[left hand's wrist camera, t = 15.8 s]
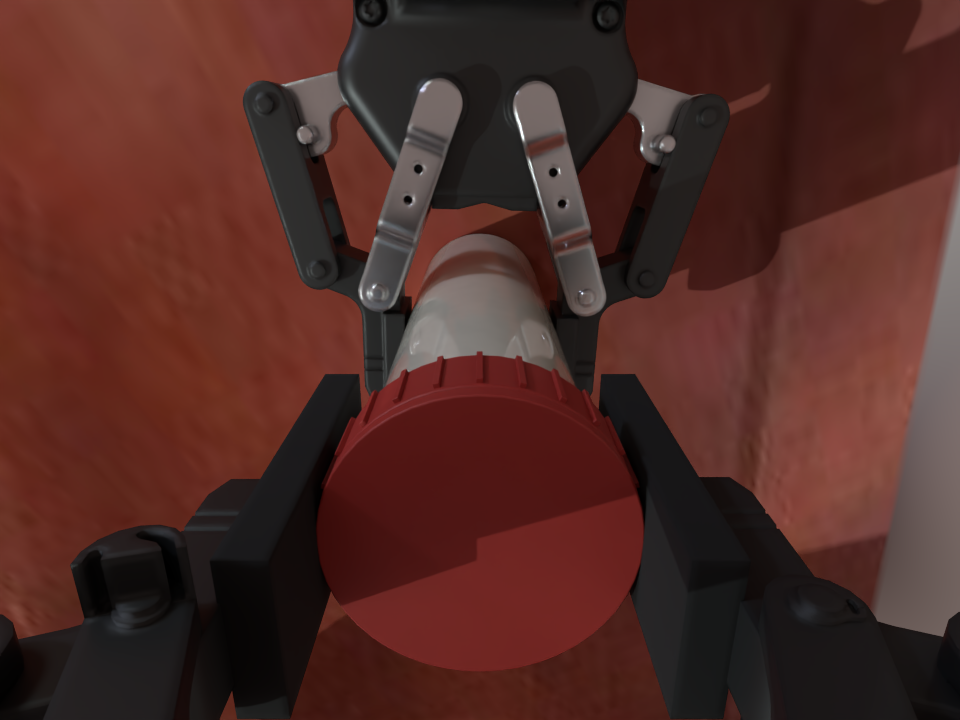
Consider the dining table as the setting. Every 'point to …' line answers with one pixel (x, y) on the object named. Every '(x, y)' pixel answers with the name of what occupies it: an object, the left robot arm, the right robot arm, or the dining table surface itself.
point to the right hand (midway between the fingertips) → (479, 408)
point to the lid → (480, 515)
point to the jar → (480, 309)
